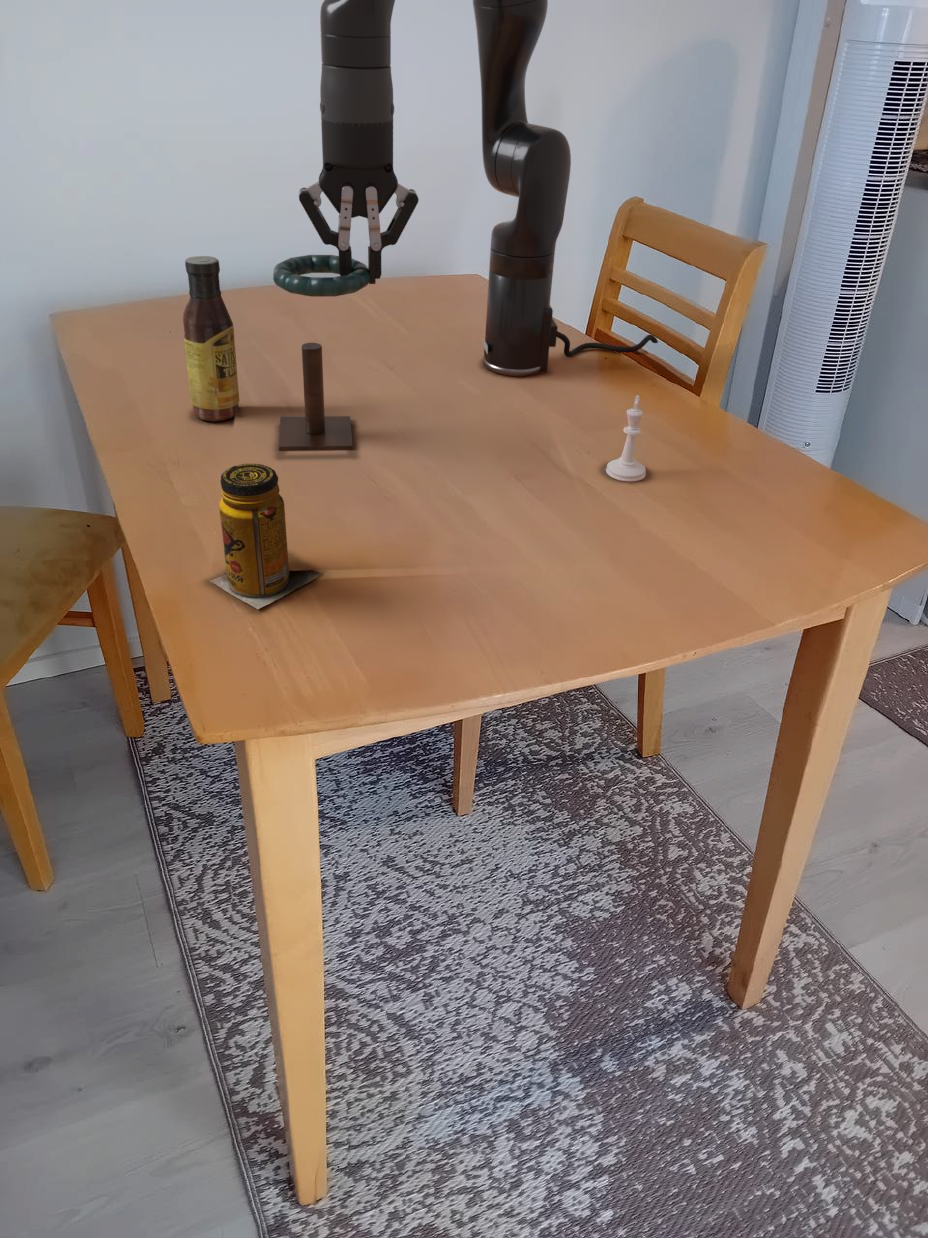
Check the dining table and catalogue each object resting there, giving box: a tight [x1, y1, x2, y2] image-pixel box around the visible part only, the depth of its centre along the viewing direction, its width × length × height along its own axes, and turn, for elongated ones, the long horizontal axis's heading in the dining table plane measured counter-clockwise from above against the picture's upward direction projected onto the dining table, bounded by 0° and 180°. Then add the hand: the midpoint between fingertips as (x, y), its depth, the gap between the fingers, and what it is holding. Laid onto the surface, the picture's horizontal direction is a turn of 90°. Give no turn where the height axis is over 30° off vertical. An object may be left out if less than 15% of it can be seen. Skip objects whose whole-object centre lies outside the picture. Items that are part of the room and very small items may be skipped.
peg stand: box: [278, 342, 354, 452], centre depth 121 cm, size 9×9×12 cm
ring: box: [272, 254, 370, 298], centre depth 111 cm, size 11×11×2 cm
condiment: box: [209, 463, 323, 610], centre depth 94 cm, size 7×8×12 cm
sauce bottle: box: [182, 255, 240, 422], centre depth 124 cm, size 7×6×20 cm
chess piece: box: [605, 394, 647, 482], centre depth 118 cm, size 5×5×10 cm
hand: (360, 281), depth 112 cm, fingers closed on ring, 2 cm apart
